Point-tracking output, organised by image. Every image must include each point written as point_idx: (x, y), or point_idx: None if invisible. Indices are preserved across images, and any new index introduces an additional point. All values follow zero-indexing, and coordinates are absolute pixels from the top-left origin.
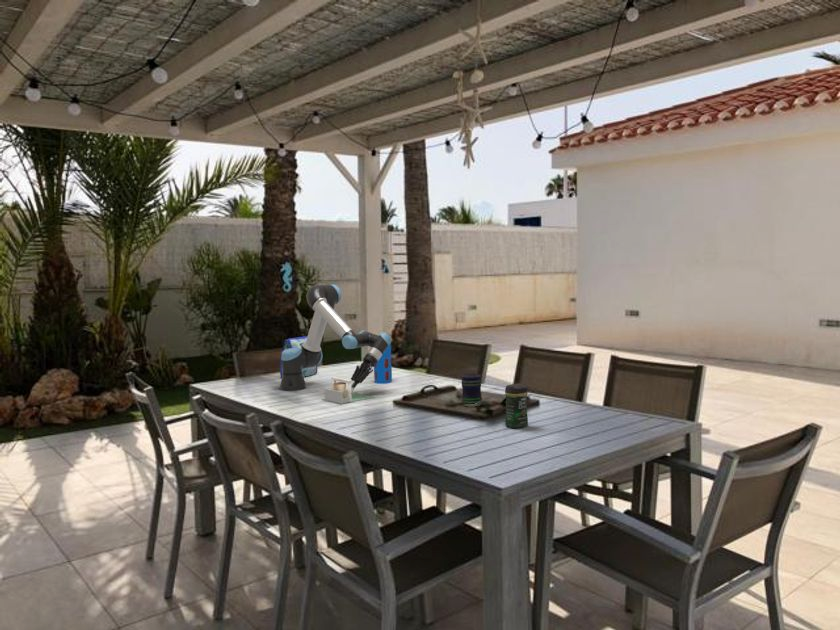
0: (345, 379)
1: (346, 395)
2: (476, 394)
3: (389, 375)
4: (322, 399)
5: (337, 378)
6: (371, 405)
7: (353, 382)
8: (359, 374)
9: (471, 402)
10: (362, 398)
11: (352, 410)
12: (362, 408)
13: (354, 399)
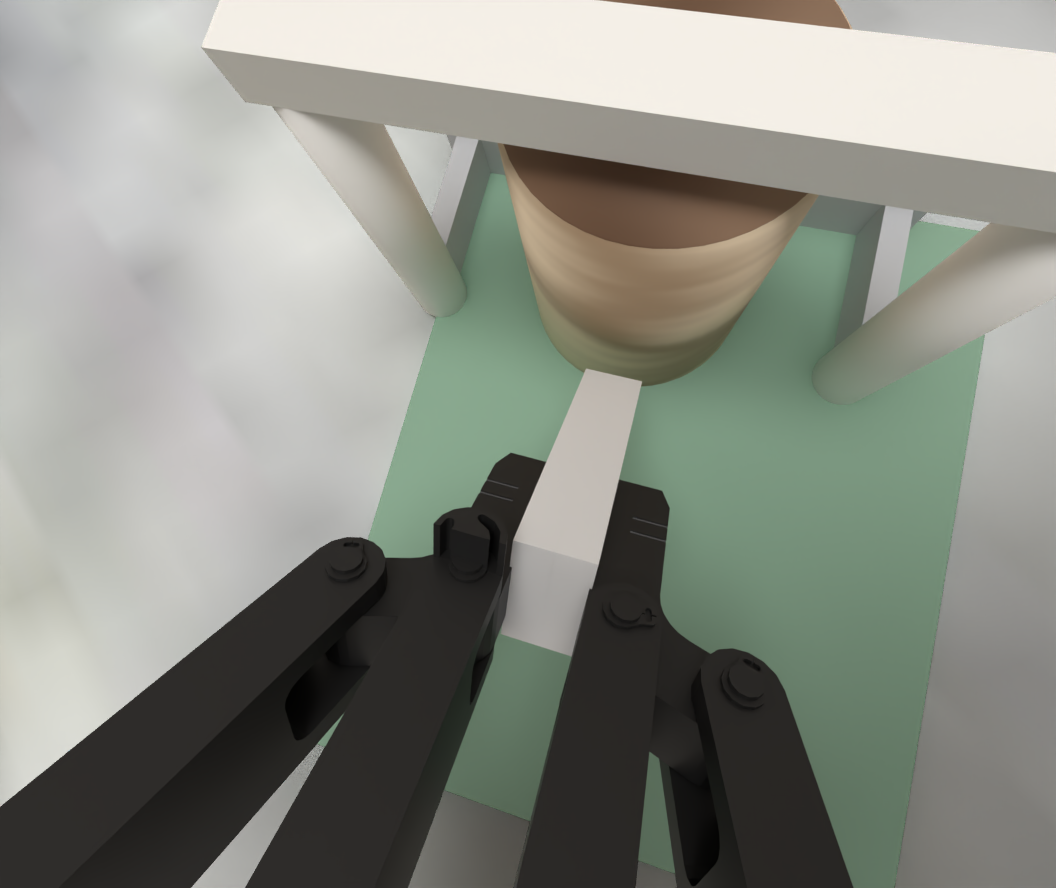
0: (483, 62)
1: (547, 316)
2: None
3: None
4: (966, 233)
5: (908, 61)
6: (92, 295)
7: (527, 511)
8: (361, 839)
9: None
10: (414, 556)
11: (157, 10)
12: (108, 129)
13: (479, 438)
